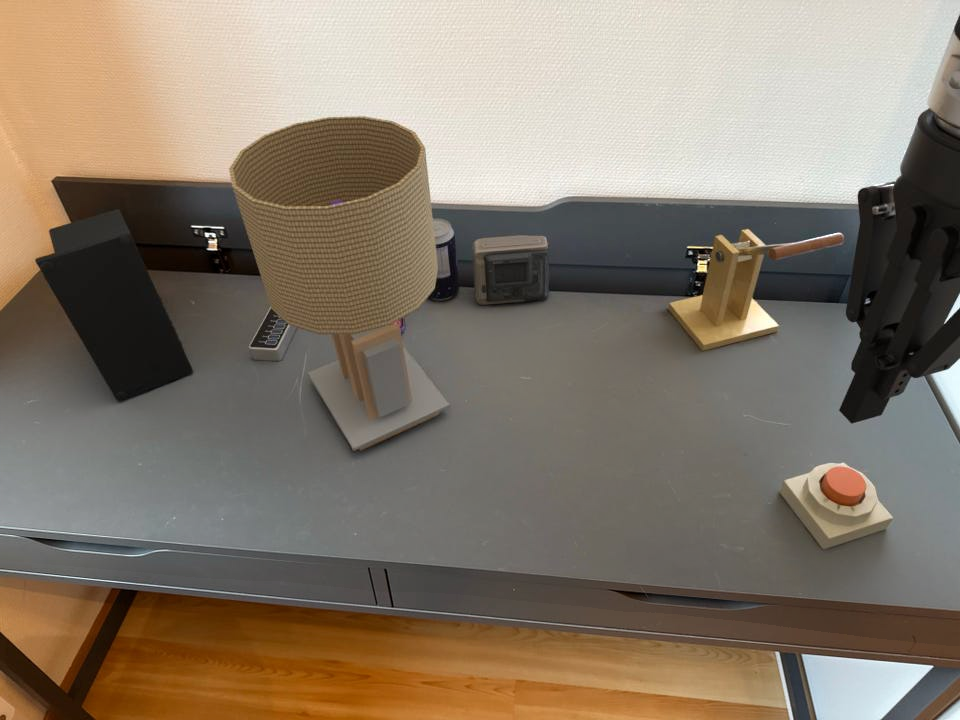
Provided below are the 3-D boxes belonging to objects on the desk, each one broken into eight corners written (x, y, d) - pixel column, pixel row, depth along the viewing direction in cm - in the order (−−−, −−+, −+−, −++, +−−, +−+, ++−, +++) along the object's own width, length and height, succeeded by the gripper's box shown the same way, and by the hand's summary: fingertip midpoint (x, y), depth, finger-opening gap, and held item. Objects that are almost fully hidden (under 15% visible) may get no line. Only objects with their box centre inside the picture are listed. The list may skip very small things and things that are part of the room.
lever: (845, 248, 82) (843, 227, 81) (777, 264, 80) (774, 243, 80) (762, 254, 97) (759, 237, 97) (704, 268, 96) (701, 250, 95)
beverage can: (466, 294, 111) (461, 229, 102) (435, 308, 108) (428, 242, 100) (447, 277, 114) (440, 212, 106) (417, 290, 112) (408, 225, 104)
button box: (886, 529, 77) (899, 507, 74) (823, 550, 75) (834, 528, 72) (838, 473, 82) (849, 451, 80) (778, 491, 81) (787, 470, 78)
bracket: (777, 331, 101) (802, 251, 91) (702, 351, 98) (720, 271, 89) (738, 291, 108) (758, 213, 98) (667, 309, 106) (681, 230, 96)
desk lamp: (478, 416, 92) (460, 169, 68) (338, 481, 85) (264, 233, 61) (411, 334, 104) (376, 101, 80) (285, 385, 97) (205, 148, 73)
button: (869, 500, 75) (874, 490, 74) (837, 510, 74) (842, 500, 73) (844, 471, 78) (849, 461, 77) (813, 481, 77) (817, 471, 76)
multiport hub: (251, 359, 102) (247, 347, 100) (285, 297, 112) (281, 286, 111) (280, 361, 101) (276, 349, 100) (311, 299, 112) (308, 287, 110)
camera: (546, 283, 112) (547, 229, 105) (550, 306, 107) (551, 251, 101) (474, 287, 112) (471, 234, 105) (475, 310, 107) (471, 256, 101)
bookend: (89, 315, 111) (14, 181, 95) (158, 291, 115) (98, 158, 99) (117, 405, 96) (34, 264, 80) (195, 374, 100) (132, 233, 84)
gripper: (859, 87, 43) (768, 369, 59) (1044, 188, 33) (876, 490, 49) (962, 68, 44) (846, 348, 60) (1168, 160, 35) (965, 462, 51)
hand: (860, 412), depth 55 cm, fingers closed
